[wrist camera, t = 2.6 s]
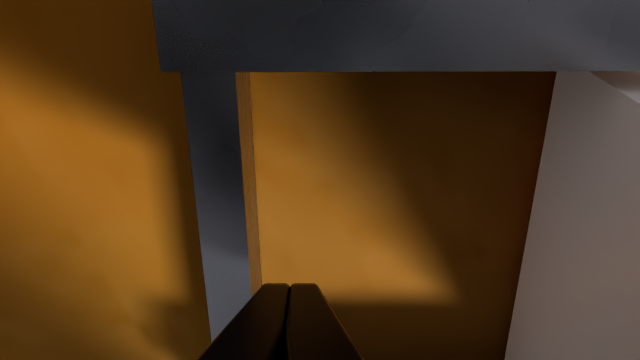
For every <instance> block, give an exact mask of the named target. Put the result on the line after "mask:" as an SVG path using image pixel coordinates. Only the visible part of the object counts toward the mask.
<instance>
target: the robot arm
mask: <svg viewBox="0 0 640 360" xmlns="http://www.w3.org/2000/svg"><path fill="white" fill-rule="evenodd" d="M196 360H363V358H362V356H361V355H360V353H359V352H358V350H357V348H356V347H355V345H354V343H353V342H352V340H351V339H350V337H349V335H348V334H347V332H346V331H345V329H344V327H343V326H342V324H341V322H340V321H339V319H338V318H337V316H336V314H335V313H334V311H333V310H332V308H331V306H330V305H329V303H328V301H327V300H326V298H325V297H324V295H323V293H322V292H321V290H320V289H319V287H318V286H317V285H316V284H314V283H295V284H292V285H291V287H290V286H289V285H288V284H286V283H266V284H264V285H262V286H261V288H260V289H259V290H258V291H257V292H256V293H255V294H254V295H253V296H252V298H251V299H250V300H249V301H248V302H247V303H246V304H245V305H244V306H243V308H242V309H241V310H240V311H239V312H238V313H237V314H236V315H235V317H234V318H233V319H232V320H231V321H230V322H229V323H228V324H227V325H226V327H225V328H224V329H223V330H222V331H221V332H220V333H219V334H218V336H217V337H216V338H215V339H214V340H213V341H212V342H211V343H210V344H209V346H208V347H207V348H206V349H205V350H204V351H203V352H202V353H201V354H200V356H199V357H198V358H197V359H196Z"/></svg>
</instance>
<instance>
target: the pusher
mask: <svg viewBox="0 0 640 360" xmlns="http://www.w3.org/2000/svg"><path fill="white" fill-rule="evenodd" d="M504 360H640V71H557V73H556V78H555V84H554V89H553V95H552V100H551V106H550V111H549V117H548V122H547V128H546V133H545V139H544V144H543V150H542V155H541V161H540V166H539V172H538V177H537V183H536V188H535V194H534V199H533V205H532V210H531V216H530V221H529V227H528V232H527V238H526V243H525V249H524V254H523V260H522V265H521V271H520V276H519V282H518V287H517V293H516V298H515V304H514V309H513V315H512V320H511V326H510V331H509V337H508V342H507V348H506V353H505V359H504Z"/></svg>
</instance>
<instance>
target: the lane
mask: <svg viewBox="0 0 640 360" xmlns="http://www.w3.org/2000/svg"><path fill="white" fill-rule="evenodd" d="M152 8H153V16H154V23H155V31H156V39H157V46H158V54H159V62H160V70H161V72H181V79H182V88H183V96H184V105H185V114H186V123H187V131H188V140H189V149H190V158H191V167H192V175H193V184H194V193H195V202H196V210H197V219H198V228H199V237H200V245H201V254H202V263H203V272H204V280H205V289H206V298H207V307H208V315H209V324H210V333H211V342H212V341H213V340H214V339H215V338H216V337H217V336H218V334H219V333H220V332H221V331H222V330H223V329H224V328H225V327H226V325H227V324H228V323H229V322H230V321H231V320H232V319H233V318H234V317H235V315H236V314H237V313H238V312H239V311H240V310H241V309H242V308H243V306H244V305H245V304H246V303H247V302H248V301H249V300H250V299H251V298H252V296H253V295H254V294H255V293H256V292H257V291H258V290H259V289H260V288H261V286H262V280H261V264H260V247H259V231H258V214H257V198H256V181H255V164H254V148H253V131H252V115H251V98H250V82H249V72H414V71H640V0H152Z"/></svg>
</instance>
